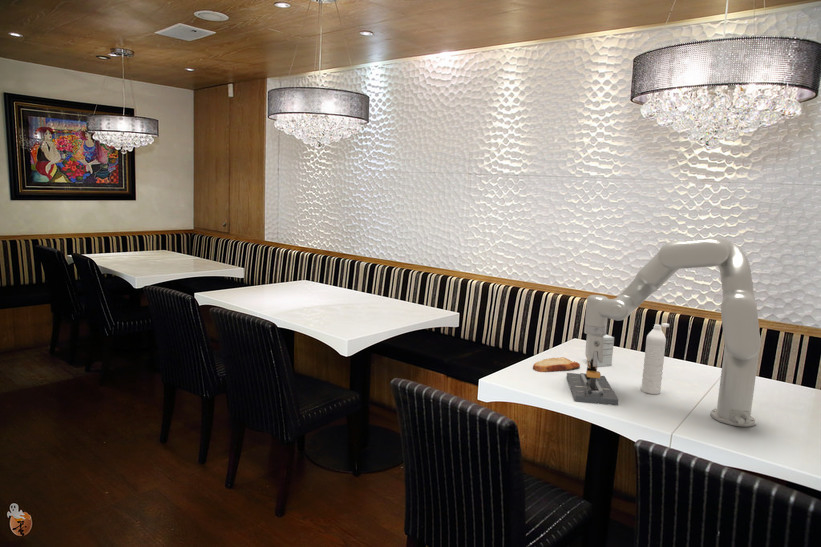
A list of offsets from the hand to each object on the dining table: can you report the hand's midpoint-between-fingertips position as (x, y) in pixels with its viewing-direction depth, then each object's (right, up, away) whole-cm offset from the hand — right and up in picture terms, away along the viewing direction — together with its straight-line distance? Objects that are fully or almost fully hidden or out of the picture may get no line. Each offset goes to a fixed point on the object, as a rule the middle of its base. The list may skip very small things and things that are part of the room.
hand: (590, 378), depth 205 cm
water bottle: (+23, -5, +2) cm, 24 cm away
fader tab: (-1, -2, -4) cm, 4 cm away
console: (0, -4, -1) cm, 4 cm away
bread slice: (-6, -1, +26) cm, 26 cm away
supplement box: (+14, 0, +33) cm, 36 cm away
